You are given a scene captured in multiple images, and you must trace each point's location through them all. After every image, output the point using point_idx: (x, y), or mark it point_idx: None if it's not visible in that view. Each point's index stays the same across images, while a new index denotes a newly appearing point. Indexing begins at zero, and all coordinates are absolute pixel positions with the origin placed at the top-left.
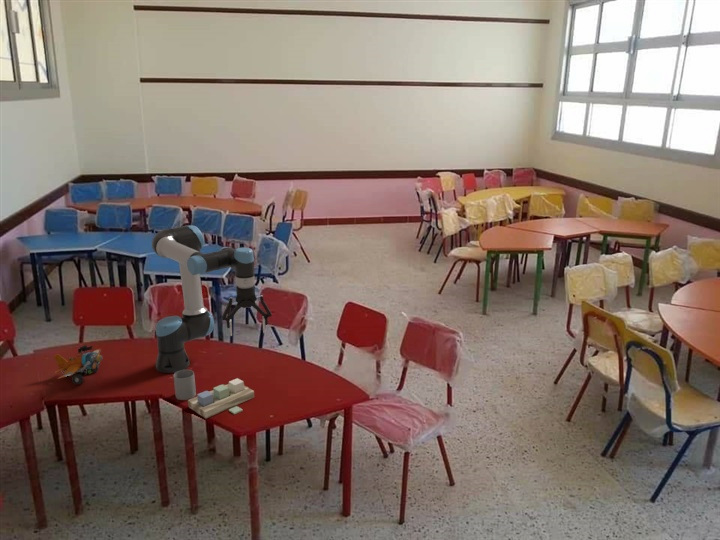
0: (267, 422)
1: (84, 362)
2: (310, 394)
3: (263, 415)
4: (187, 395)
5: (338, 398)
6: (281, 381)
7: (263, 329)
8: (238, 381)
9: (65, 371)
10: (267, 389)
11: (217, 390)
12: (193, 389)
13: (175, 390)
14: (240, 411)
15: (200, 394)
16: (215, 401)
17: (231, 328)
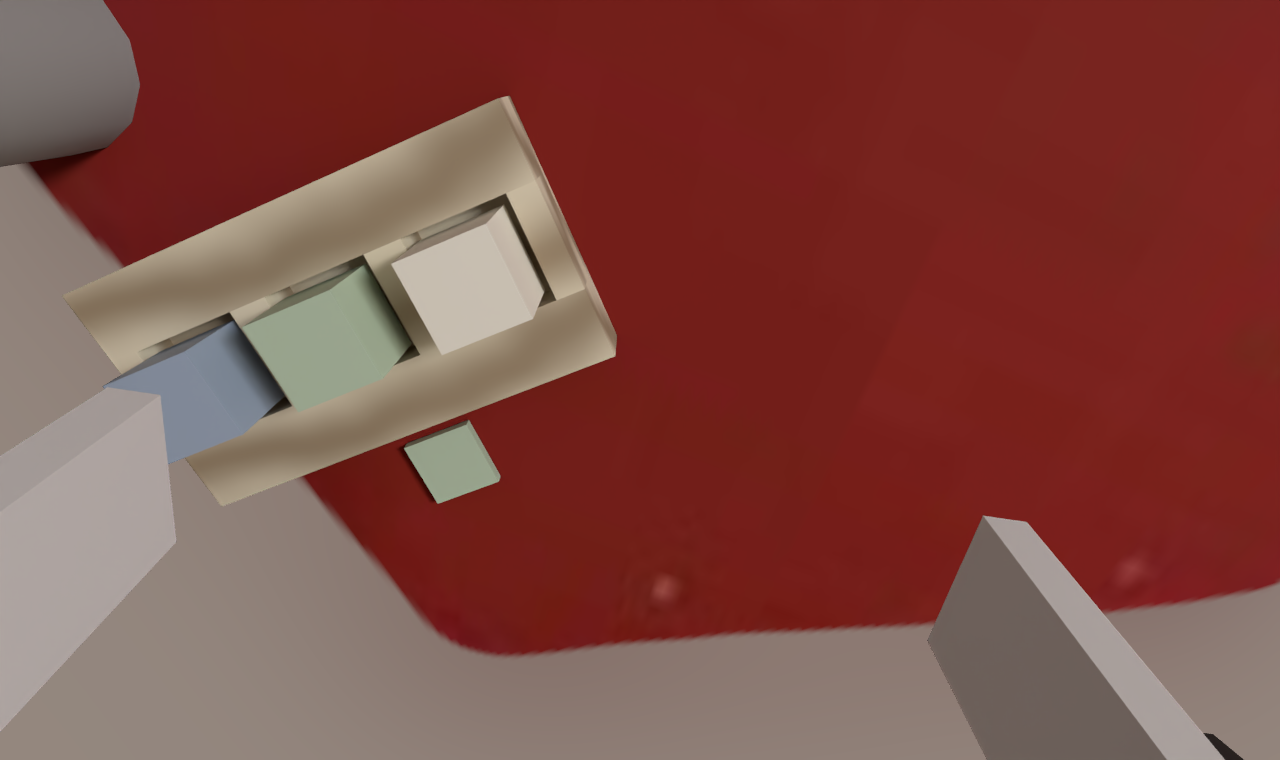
0: (620, 638)
1: None
2: (1009, 449)
3: (617, 568)
4: (49, 158)
5: (1139, 560)
6: (912, 158)
7: (971, 727)
8: (485, 297)
9: None
10: (750, 251)
11: (282, 386)
12: (76, 132)
13: None
14: (483, 484)
15: None
16: None
17: (3, 715)
